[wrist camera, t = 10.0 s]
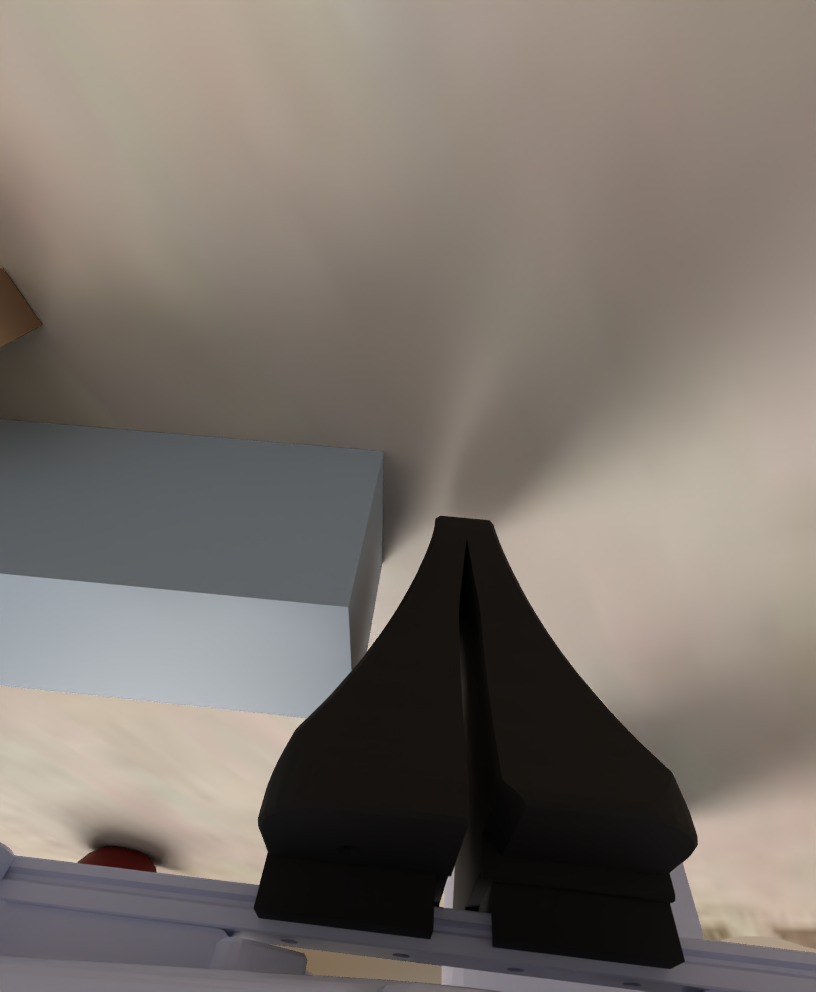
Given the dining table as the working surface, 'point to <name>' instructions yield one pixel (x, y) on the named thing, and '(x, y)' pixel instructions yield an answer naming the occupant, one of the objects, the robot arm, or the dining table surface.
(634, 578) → the dining table surface
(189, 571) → the peg
